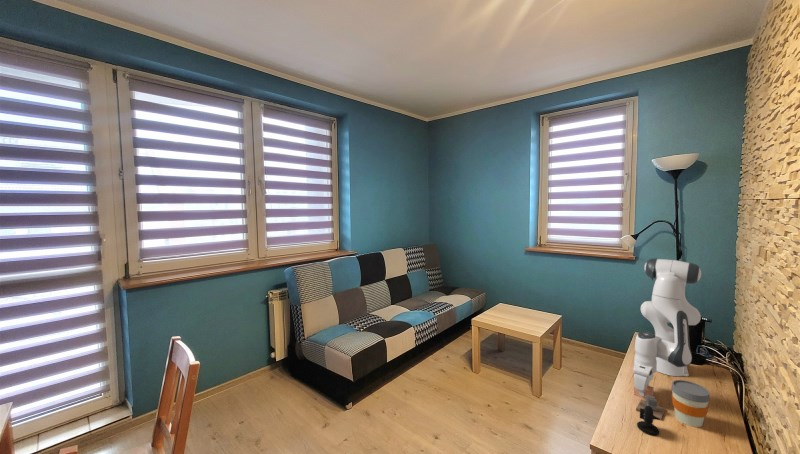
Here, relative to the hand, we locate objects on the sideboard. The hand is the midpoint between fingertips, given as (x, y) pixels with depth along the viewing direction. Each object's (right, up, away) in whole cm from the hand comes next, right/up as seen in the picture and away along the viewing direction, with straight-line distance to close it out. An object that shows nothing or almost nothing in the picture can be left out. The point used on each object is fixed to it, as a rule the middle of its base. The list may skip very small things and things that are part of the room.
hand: (643, 391), depth 157 cm
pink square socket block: (0, -2, 0) cm, 2 cm away
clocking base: (-6, -3, -11) cm, 13 cm away
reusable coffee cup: (+6, -3, -18) cm, 19 cm away
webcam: (-17, -4, -23) cm, 29 cm away
